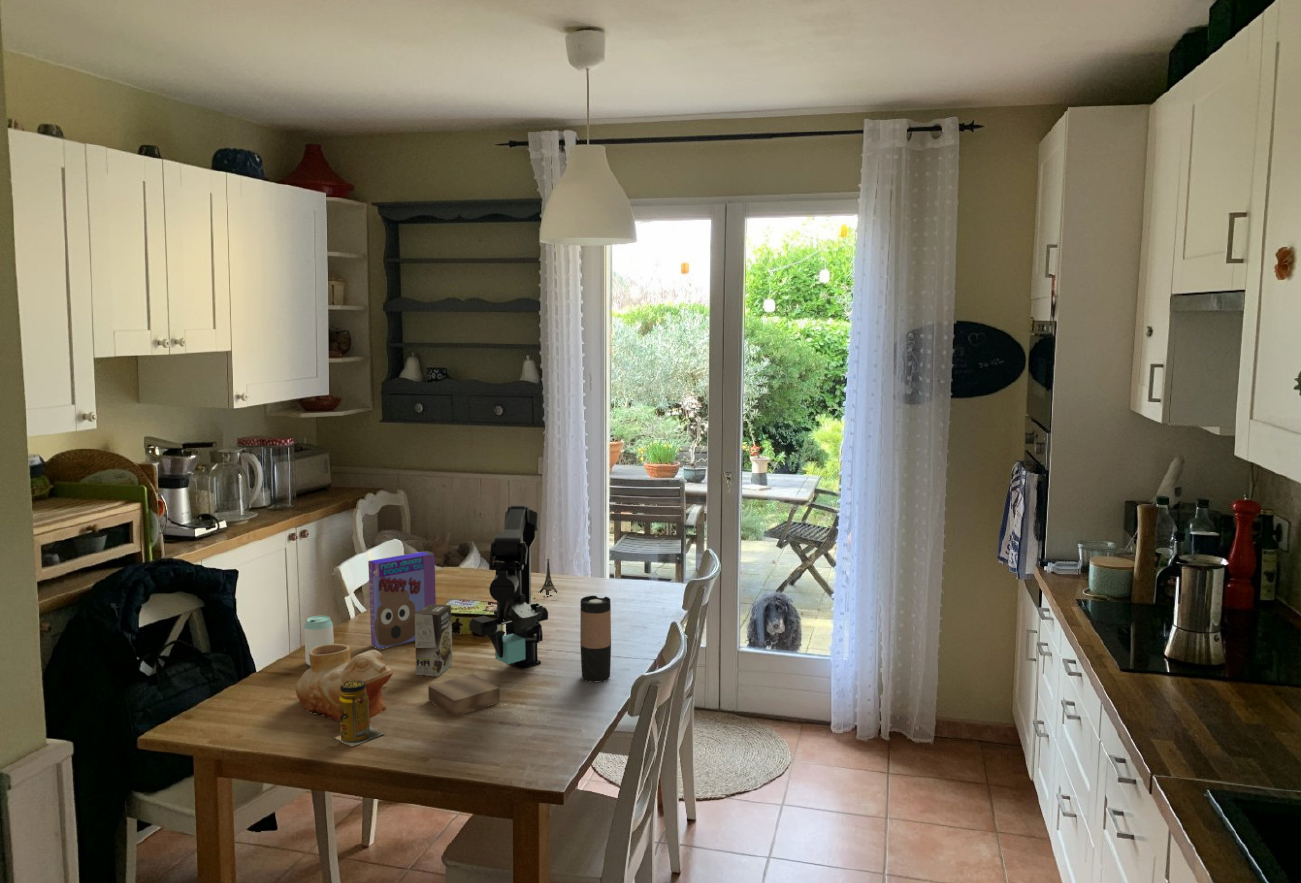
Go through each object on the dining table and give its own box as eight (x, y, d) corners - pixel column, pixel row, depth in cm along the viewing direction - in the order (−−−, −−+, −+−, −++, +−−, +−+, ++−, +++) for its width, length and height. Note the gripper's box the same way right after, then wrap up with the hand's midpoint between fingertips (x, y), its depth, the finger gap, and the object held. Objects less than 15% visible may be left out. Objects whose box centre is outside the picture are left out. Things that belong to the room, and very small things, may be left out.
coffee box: (439, 677, 246) (437, 614, 244) (415, 675, 247) (413, 613, 245) (453, 664, 255) (452, 604, 253) (430, 663, 256) (428, 603, 254)
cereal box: (379, 649, 266) (376, 563, 263) (371, 645, 270) (368, 560, 267) (436, 636, 278) (434, 553, 275) (428, 632, 281) (426, 550, 278)
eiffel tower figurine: (535, 588, 328) (535, 549, 326) (565, 589, 328) (565, 550, 326) (527, 601, 313) (527, 561, 311) (559, 602, 313) (559, 561, 311)
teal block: (513, 653, 234) (512, 633, 233) (525, 659, 230) (525, 638, 230) (495, 658, 231) (495, 638, 230) (507, 664, 227) (507, 643, 226)
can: (325, 669, 252) (323, 623, 250) (300, 667, 253) (298, 621, 252) (339, 659, 259) (337, 615, 257) (315, 657, 260) (313, 613, 259)
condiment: (332, 738, 211) (330, 684, 209) (366, 725, 217) (364, 673, 216) (351, 747, 206) (349, 692, 204) (386, 734, 212) (384, 681, 211)
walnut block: (473, 689, 239) (472, 673, 239) (499, 704, 230) (499, 687, 230) (428, 702, 231) (428, 685, 231) (454, 717, 222) (454, 700, 222)
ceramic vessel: (362, 733, 213) (359, 666, 211) (283, 707, 227) (280, 645, 225) (408, 711, 225) (406, 648, 223) (331, 688, 239) (328, 628, 237)
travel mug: (588, 684, 241) (587, 605, 239) (575, 674, 248) (575, 597, 245) (616, 679, 245) (616, 601, 242) (603, 669, 251) (603, 593, 249)
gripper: (494, 605, 216) (495, 673, 218) (562, 589, 229) (562, 654, 231) (467, 594, 224) (468, 660, 226) (533, 580, 237) (534, 642, 239)
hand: (510, 654), depth 230 cm, fingers closed on teal block, 5 cm apart
